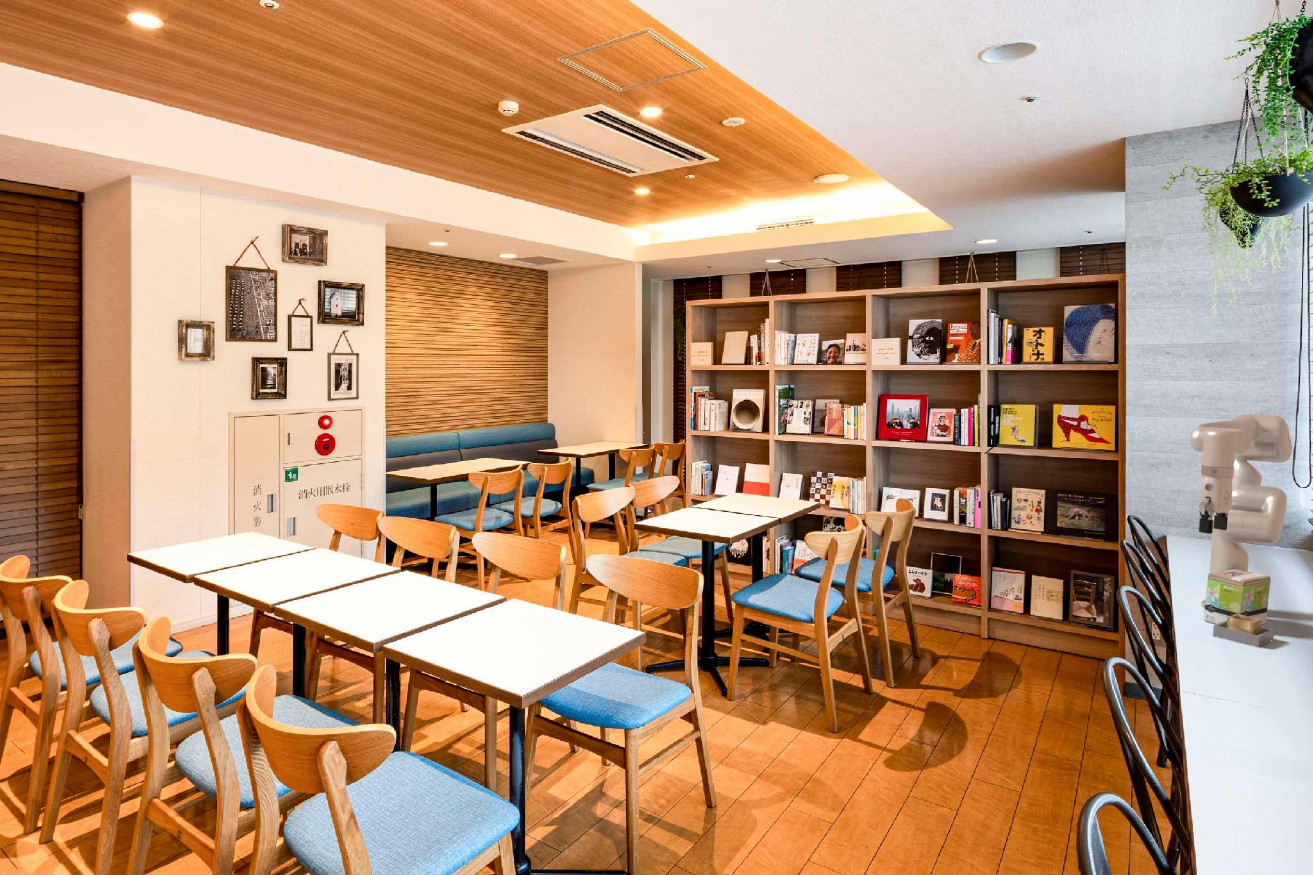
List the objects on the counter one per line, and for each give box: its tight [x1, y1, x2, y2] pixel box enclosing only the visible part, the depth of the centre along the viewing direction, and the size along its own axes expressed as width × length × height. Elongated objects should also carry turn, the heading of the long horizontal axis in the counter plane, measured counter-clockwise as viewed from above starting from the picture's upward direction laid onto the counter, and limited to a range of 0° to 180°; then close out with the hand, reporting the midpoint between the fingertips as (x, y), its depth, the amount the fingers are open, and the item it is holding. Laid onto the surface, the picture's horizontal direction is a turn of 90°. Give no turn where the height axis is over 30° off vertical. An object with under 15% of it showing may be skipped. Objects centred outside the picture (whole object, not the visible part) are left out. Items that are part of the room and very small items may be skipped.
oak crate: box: [1227, 614, 1263, 635], centre depth 213 cm, size 6×6×5 cm
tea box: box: [1203, 569, 1271, 625], centre depth 226 cm, size 15×10×15 cm
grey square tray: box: [1212, 620, 1275, 648], centre depth 213 cm, size 11×11×3 cm
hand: (1212, 531), depth 220 cm, fingers open, 9 cm apart
